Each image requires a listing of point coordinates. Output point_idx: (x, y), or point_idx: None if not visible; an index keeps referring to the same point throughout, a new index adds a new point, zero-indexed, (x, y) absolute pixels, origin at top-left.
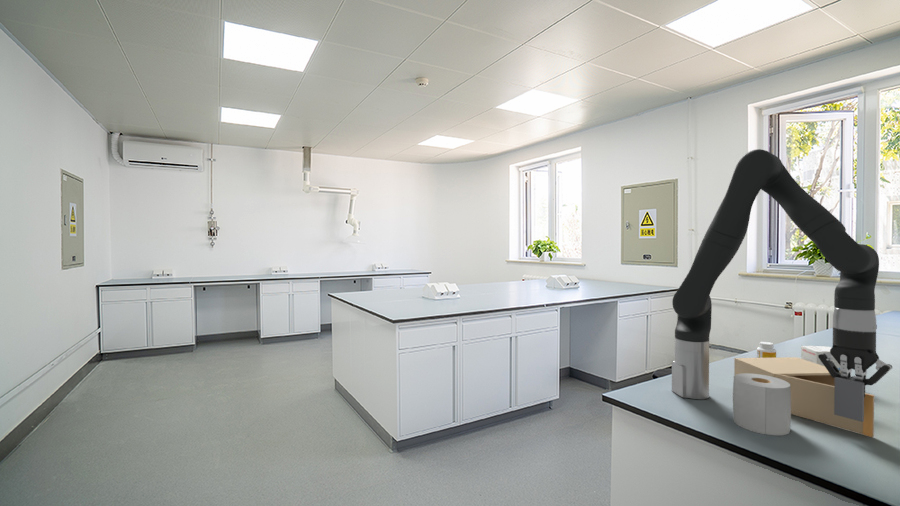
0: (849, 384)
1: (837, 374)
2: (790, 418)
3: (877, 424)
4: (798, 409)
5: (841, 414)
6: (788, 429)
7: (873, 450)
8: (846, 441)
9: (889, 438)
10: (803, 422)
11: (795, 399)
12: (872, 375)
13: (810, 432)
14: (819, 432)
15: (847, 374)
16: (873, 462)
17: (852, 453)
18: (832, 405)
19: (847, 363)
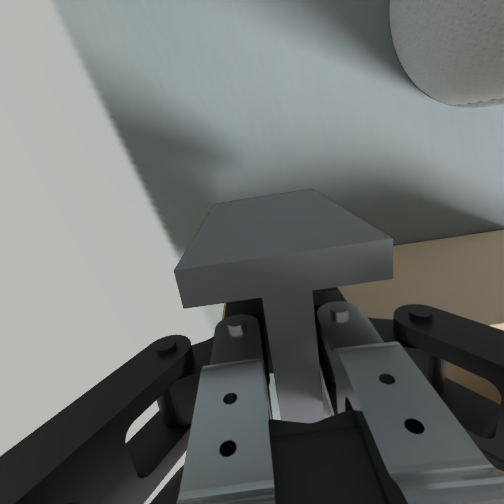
0: (270, 244)
1: (405, 334)
2: (422, 9)
3: (273, 385)
4: (446, 248)
5: (286, 193)
6: (397, 2)
7: (178, 161)
8: (251, 158)
9: (209, 308)
10: (399, 201)
11: (485, 259)
12: (121, 411)
13: (347, 122)
14: (331, 155)
15: (331, 354)
16: (123, 41)
17: (190, 56)
18: (357, 286)
19: (380, 468)
